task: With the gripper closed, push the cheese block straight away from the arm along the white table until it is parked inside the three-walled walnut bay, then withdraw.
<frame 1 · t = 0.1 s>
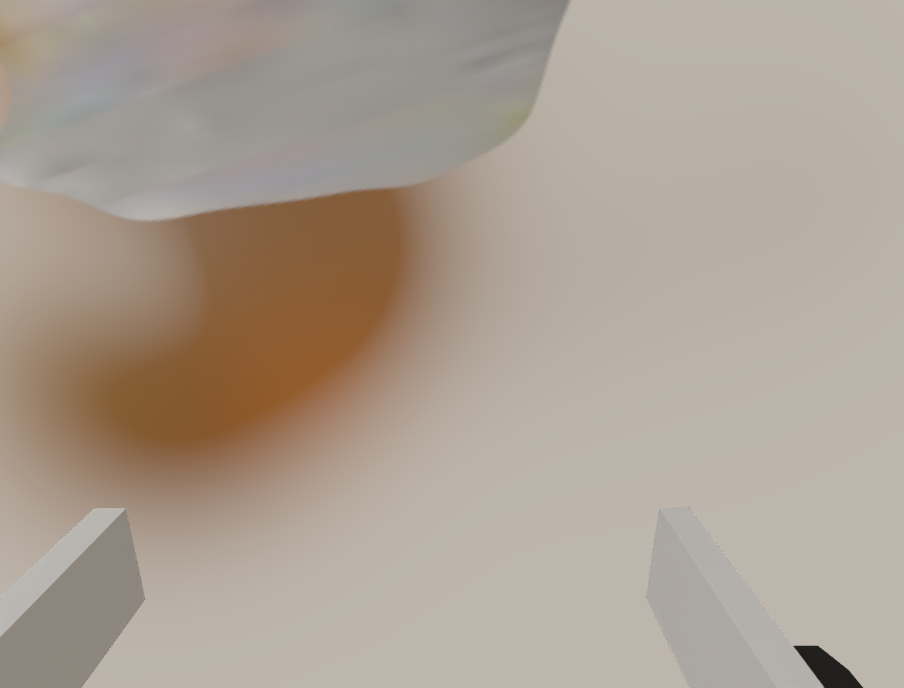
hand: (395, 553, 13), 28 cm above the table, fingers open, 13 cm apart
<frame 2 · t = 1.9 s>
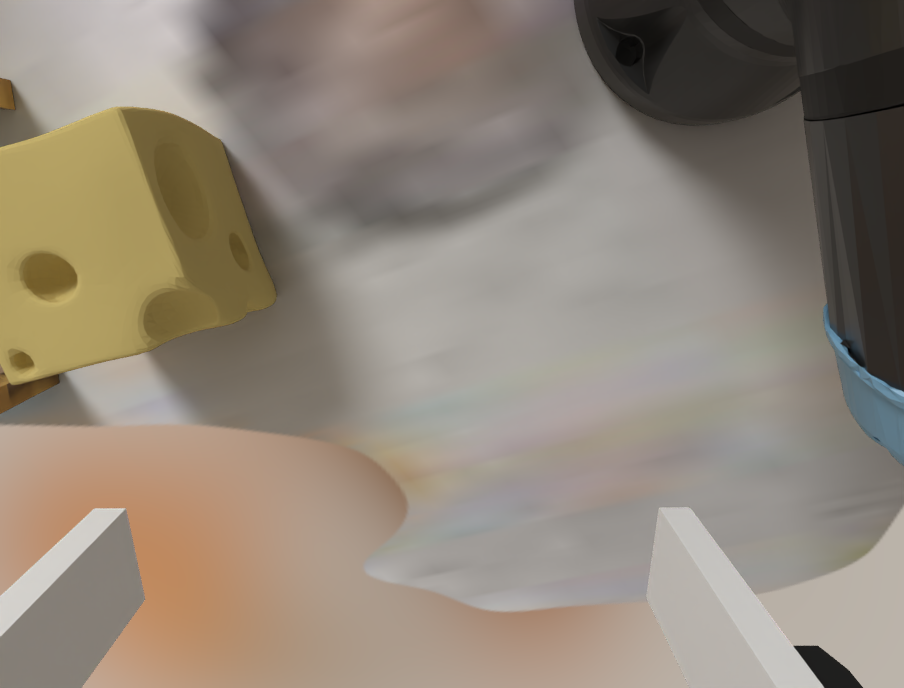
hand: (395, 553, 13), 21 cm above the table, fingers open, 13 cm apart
cheese: (172, 236, 32), on the table
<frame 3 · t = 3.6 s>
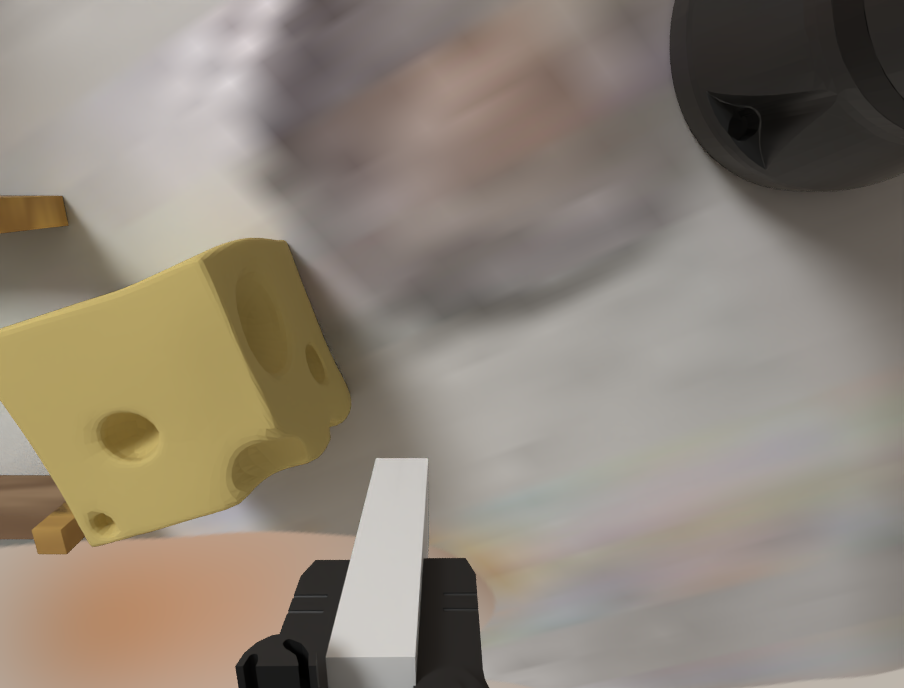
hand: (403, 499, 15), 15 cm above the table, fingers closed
cheese: (237, 342, 30), on the table
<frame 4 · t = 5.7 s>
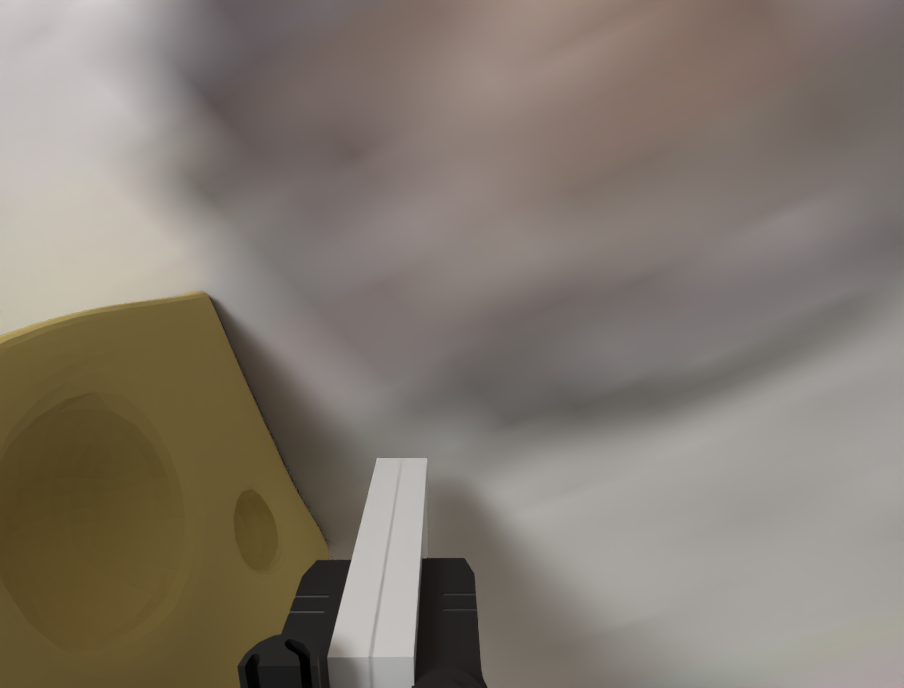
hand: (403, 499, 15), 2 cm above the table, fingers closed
cheese: (131, 462, 17), on the table, touching hand
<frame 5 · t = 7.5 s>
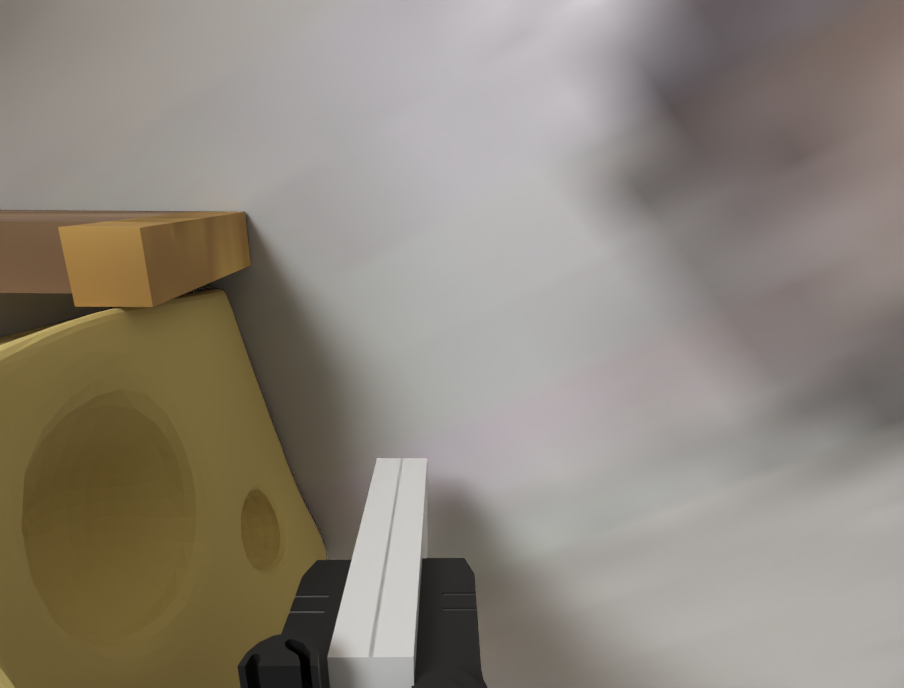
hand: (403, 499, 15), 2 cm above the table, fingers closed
bay: (2, 490, 17), on the table
cheese: (135, 453, 17), on the table, touching hand
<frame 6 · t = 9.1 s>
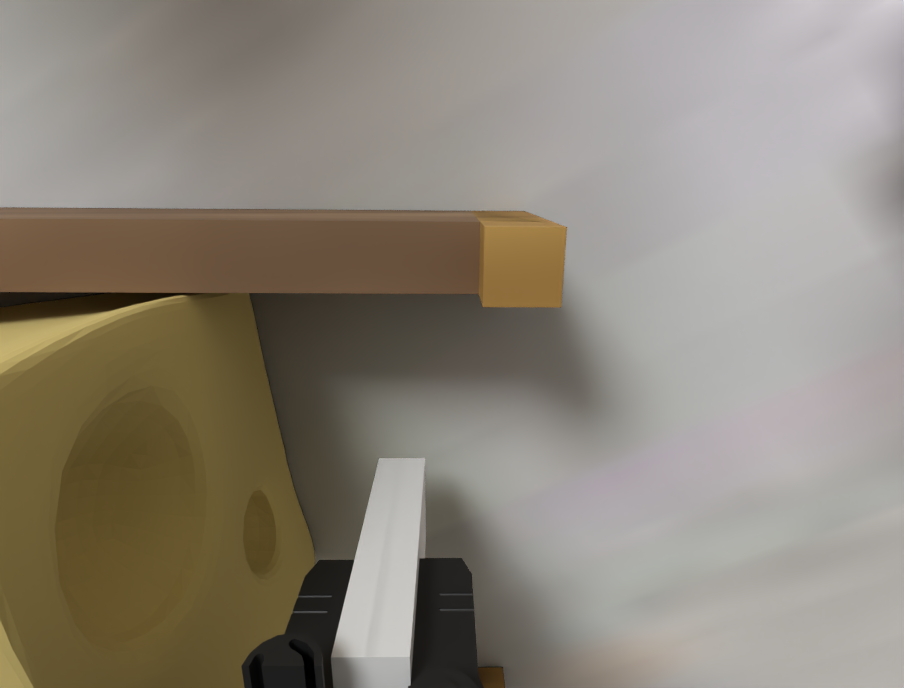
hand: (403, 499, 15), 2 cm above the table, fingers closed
bay: (236, 493, 17), on the table
cheese: (130, 438, 17), on the table, touching bay, gripper, hand
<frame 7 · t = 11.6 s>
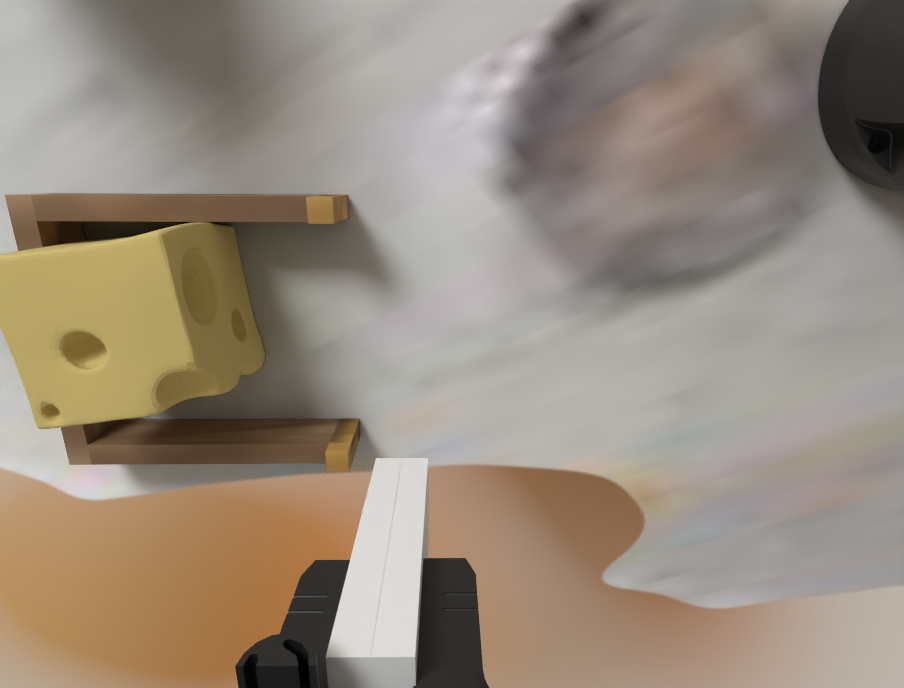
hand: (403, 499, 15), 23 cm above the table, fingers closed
bay: (228, 324, 38), on the table
cheese: (181, 298, 37), on the table
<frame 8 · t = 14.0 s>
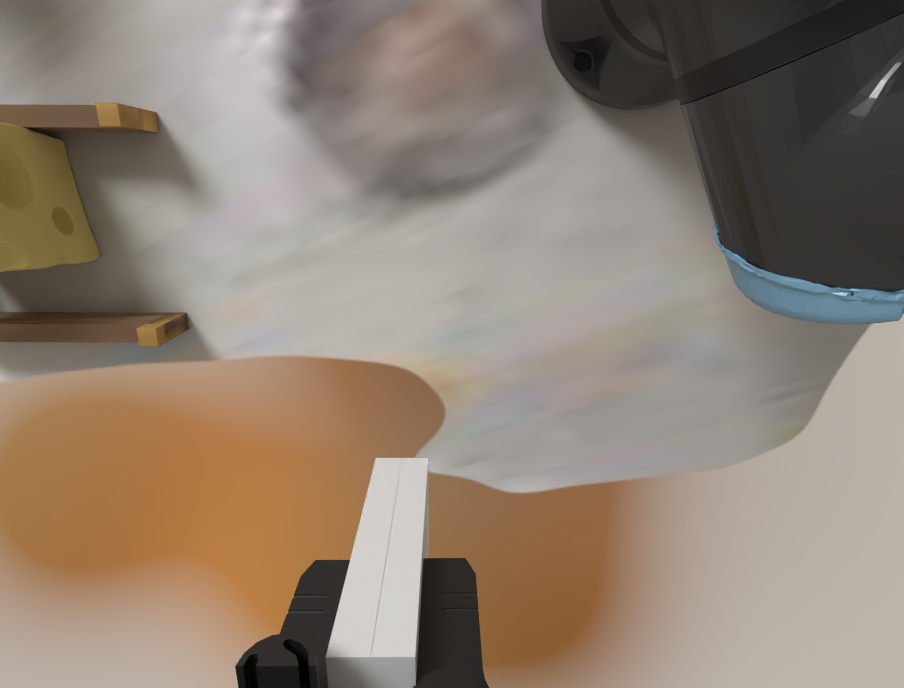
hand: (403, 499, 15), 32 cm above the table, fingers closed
bay: (66, 226, 44), on the table
cheese: (26, 203, 44), on the table
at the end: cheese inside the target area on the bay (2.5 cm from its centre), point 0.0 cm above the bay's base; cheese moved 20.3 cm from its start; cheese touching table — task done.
